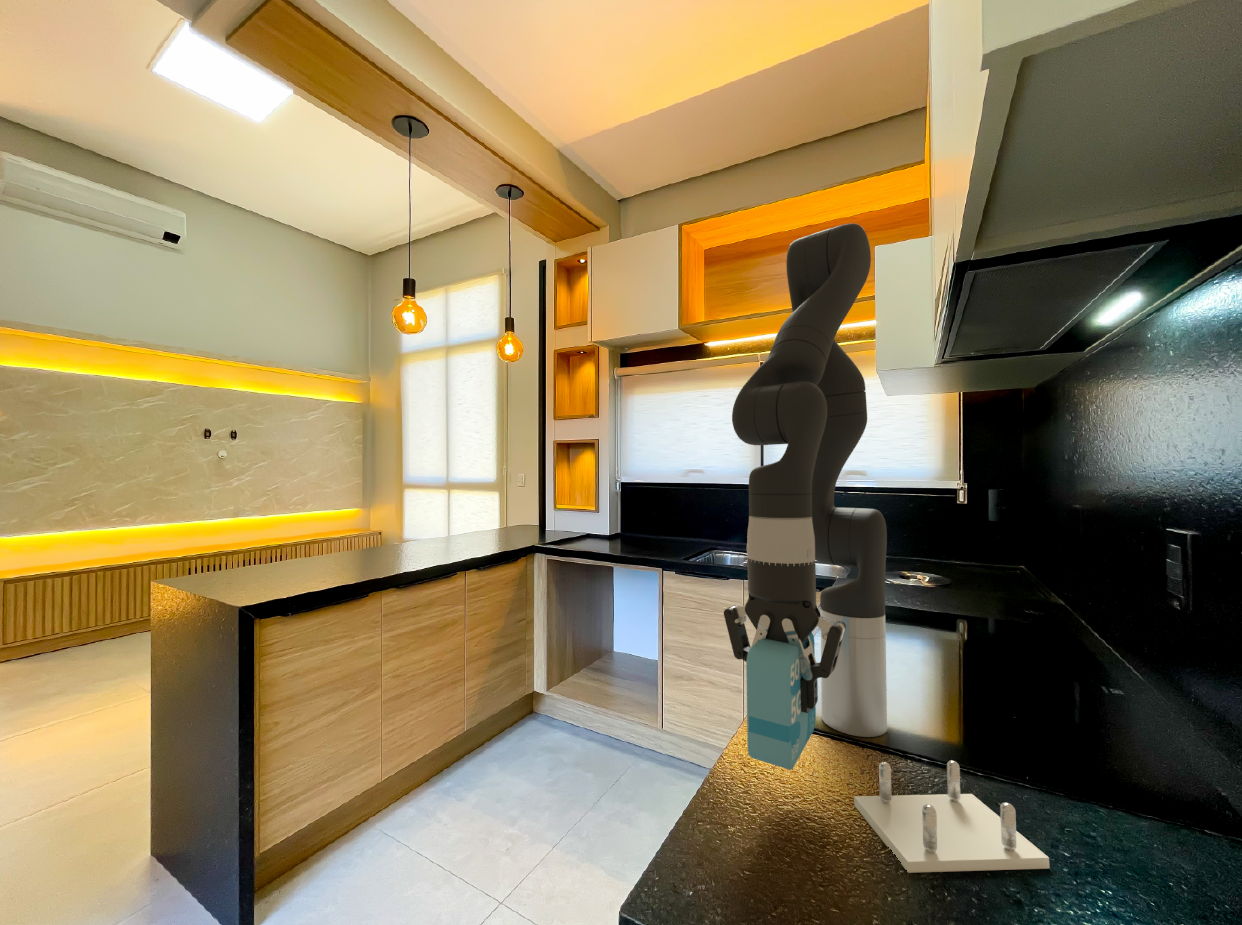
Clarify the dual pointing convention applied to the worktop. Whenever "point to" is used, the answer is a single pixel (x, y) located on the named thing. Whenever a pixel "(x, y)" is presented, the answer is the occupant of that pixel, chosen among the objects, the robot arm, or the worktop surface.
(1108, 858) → the worktop surface
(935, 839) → the guide pins
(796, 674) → the data package
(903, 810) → the tray
